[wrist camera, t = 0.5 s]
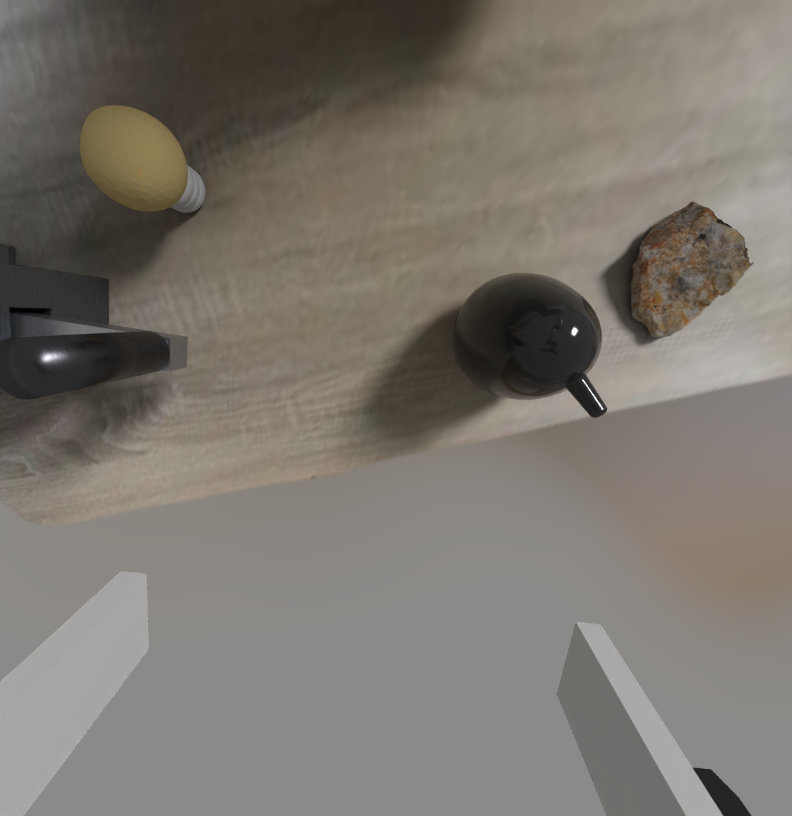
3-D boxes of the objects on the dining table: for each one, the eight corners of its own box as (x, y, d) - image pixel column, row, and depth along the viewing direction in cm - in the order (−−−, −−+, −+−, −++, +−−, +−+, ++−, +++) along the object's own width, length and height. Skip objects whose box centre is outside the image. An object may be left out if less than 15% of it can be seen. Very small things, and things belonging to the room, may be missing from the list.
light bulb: (146, 217, 35) (49, 179, 26) (157, 141, 34) (60, 70, 24) (216, 240, 36) (147, 211, 26) (230, 165, 34) (163, 104, 25)
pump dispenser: (484, 409, 39) (536, 466, 24) (427, 319, 37) (445, 321, 22) (576, 351, 38) (691, 373, 23) (522, 255, 36) (608, 211, 21)
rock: (662, 197, 35) (599, 291, 35) (735, 173, 29) (661, 285, 29) (710, 260, 38) (653, 347, 38) (785, 250, 33) (718, 351, 33)
